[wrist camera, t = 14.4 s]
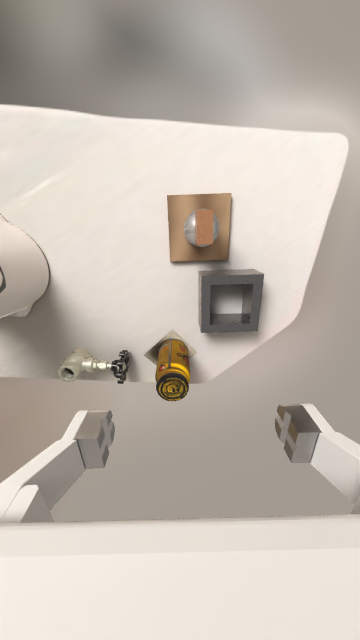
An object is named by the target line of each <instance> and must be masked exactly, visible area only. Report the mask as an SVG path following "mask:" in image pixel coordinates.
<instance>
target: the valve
mask: <svg viewBox="0 0 360 640" xmlns="http://www.w3.org/2000/svg"><path fill="white" fill-rule="evenodd" d="M127 355H128V351H127V350H123V351H122V352H120V354H119V356H122V357H121V359H120V360H115V361H113V362H112V363H108V361H102V360H101V361H100V362H98V360H96V358H95V357H91V355H90V354H89V352H88V351H87V350H86V349H80V348H76V350H75V351H74V352H73V353H72V354H70V355H69V356H67V357H66V358H65V360H64V362H63V364H62V365H61V367H60V368H59V370H58V372H57V374H58V375H59V377H60V378H61V379H62V380H64V381H74V380H75V379H76V377H77V376H78V374H80V373H82V372H83V371H84V370H86V371H87V372H91V373H93V372H94V371H95V370H97V369H98V368H99V369H100V370H107V369H108V368H111V370H112V371H114V376H115V377H116V378H120V380H118V383H120V384H123V383H124V381H126V372H128V366H127V362H128V361H129V357H128V356H127ZM117 371H119V372H117Z"/></svg>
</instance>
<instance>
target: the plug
mask: <svg viewBox="0 0 360 640" xmlns="http://www.w3.org/2000/svg"><path fill="white" fill-rule="evenodd" d="M213 211H214V209H209V210H207V209H198V210H195V211H193V212H192V213H191V214H190V215H189V216H188V218H187V219H186V221H185V224H184V235H185V237H186V239H187V240H188V241H189V242H190V243H191V244H193V245H195V246H198V247H204V246H208V245H210V244H213V242H214V240H215V239H216V238H217V236H218V233H219V221H218V219H217V217H216V215H215V214H214V213H213Z"/></svg>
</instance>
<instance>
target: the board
mask: <svg viewBox="0 0 360 640" xmlns="http://www.w3.org/2000/svg"><path fill="white" fill-rule="evenodd" d="M167 201H168V222H169V243H170V261H198V260H227V259H228V248H229V229H230V209H231V193H222V194H194V195H167ZM198 209H207V210H209V209H214V211H213V213H214V214H215V215H216V217H217V219H218V221H219V233H218V236H217V238H216V239H215V240H214V242H213V244H210V245H208V246H204V247H198V246H195V245H193V244H191V243H190V242H189V241H188V240H187V239H186V237H185V235H184V224H185V221H186V219H187V218H188V216H189V215H190V214H191V213H192V212H193V211H195V210H198Z"/></svg>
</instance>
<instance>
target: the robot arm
mask: <svg viewBox="0 0 360 640" xmlns="http://www.w3.org/2000/svg"><path fill="white" fill-rule="evenodd" d="M48 281H49V270H48V265H47V262H46V259H45V257H44V255H43V253H42V251H41V250H40V248H39V247H38V245H37V244H36V243H35V242H34V241H33V240H32V239H31V238H30V237H29V236H28V235H27V234H26V233H24V232H23V231H21V230H20V229H18V228H16V227H14V226H13V225H11V224H10V223H8V222H7V221H6V220H5V219H4V218H3V217H2V216H1V214H0V318H3V317H5V316H15V317H24V316H27V315H28V314H29V313H30V310H31V308H32V305H33V303H34V302H35V301H37V300H38V299H39V298H40V297H41V296H42V295H43V294H44V292H45V290H46V288H47V286H48ZM277 412H278V414H279V415H278V416H277V418H276V419H275V428H276V432H277V435H278V437H279V439H280V440H281V441H282V442H283V443H285V446H284V450H285V451H286V453H287V456H288V457H289V459H290V461H291V463H311V464H312V466H314V467H315V468H316V469H317V470H318V471H319V472H320V473H321V474H322V475H323V476H324V477H326V478H327V479H328V480H329V481H330V482H331V483H332V484H333V485H334V486H335V487H337V488H338V489H339V490H340V491H341V492H342V493H343V494H344V495H345V496H346V497H347V498H348V499H350V500H351V501H352V502H353V503H354V504H355V506H354V508H353V510H352V512H351V514H343V515H307V516H306V515H304V516H266V517H229V518H228V517H227V518H189V519H153V520H114V521H73V522H54V521H53V519H52V516H51V514H50V512H49V511H50V510H51V508H52V507H53V506H54V505H55V504H56V503H57V502H58V500H59V499H60V498H61V497H62V496H63V495H64V493H65V492H66V491H67V490H68V489H69V488H70V487H71V486H72V484H73V483H74V482H75V481H76V480H77V479H78V478H79V477H80V475H81V474H82V473H83V472H84V471H85V469H89V468H104V467H105V464H106V461H107V458H108V455H109V451H108V447H109V446H110V445H111V444H112V442H113V439H114V431H115V430H114V423H113V422H112V421H111V418H112V413H111V411H110V410H79V411H78V412H77V413H76V415H75V416H74V418H73V420H72V421H71V423H70V425H69V427H68V428H67V430H66V432H65V434H64V436H63V437H62V439H61V440H57V441H56V442H55V443H53V444H52V445H51V446H50V447H48V448H47V449H46V450H44V451H43V452H41V453H40V454H39V455H38V456H36V457H35V458H33V459H32V460H31V461H29V462H28V463H27V464H26V465H24V466H23V467H22V468H20V469H19V470H18V471H16V472H15V473H14V474H12V475H11V476H10V477H8V478H7V479H6V480H4V481H3V482H2V483H0V640H360V445H358V444H357V443H355V442H354V441H352V440H350V439H349V438H347V437H345V436H344V435H342V434H340V433H339V432H334V430H333V429H332V428H331V426H330V425H329V424H328V423H327V422H326V420H325V419H324V418H323V417H322V416H321V414H320V413H319V412H318V410H317V409H316V408H315V407H314V405H312V404H292V405H279V406H278V409H277Z"/></svg>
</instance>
